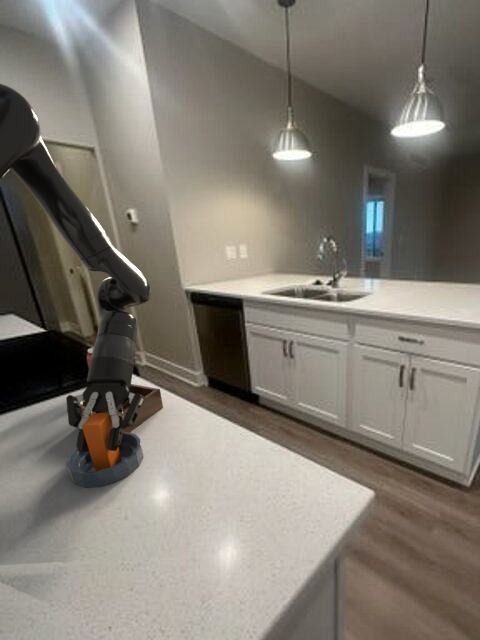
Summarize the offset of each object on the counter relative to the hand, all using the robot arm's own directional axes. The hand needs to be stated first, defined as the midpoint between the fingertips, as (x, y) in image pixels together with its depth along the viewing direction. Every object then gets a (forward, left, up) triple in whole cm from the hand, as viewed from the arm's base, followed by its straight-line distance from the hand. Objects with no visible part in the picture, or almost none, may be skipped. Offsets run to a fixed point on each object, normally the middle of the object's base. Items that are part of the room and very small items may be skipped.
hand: (98, 450), depth 62 cm
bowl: (-1, +2, -5) cm, 5 cm away
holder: (-11, +16, -5) cm, 20 cm away
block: (-1, +2, -5) cm, 5 cm away
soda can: (-25, +26, -5) cm, 36 cm away
